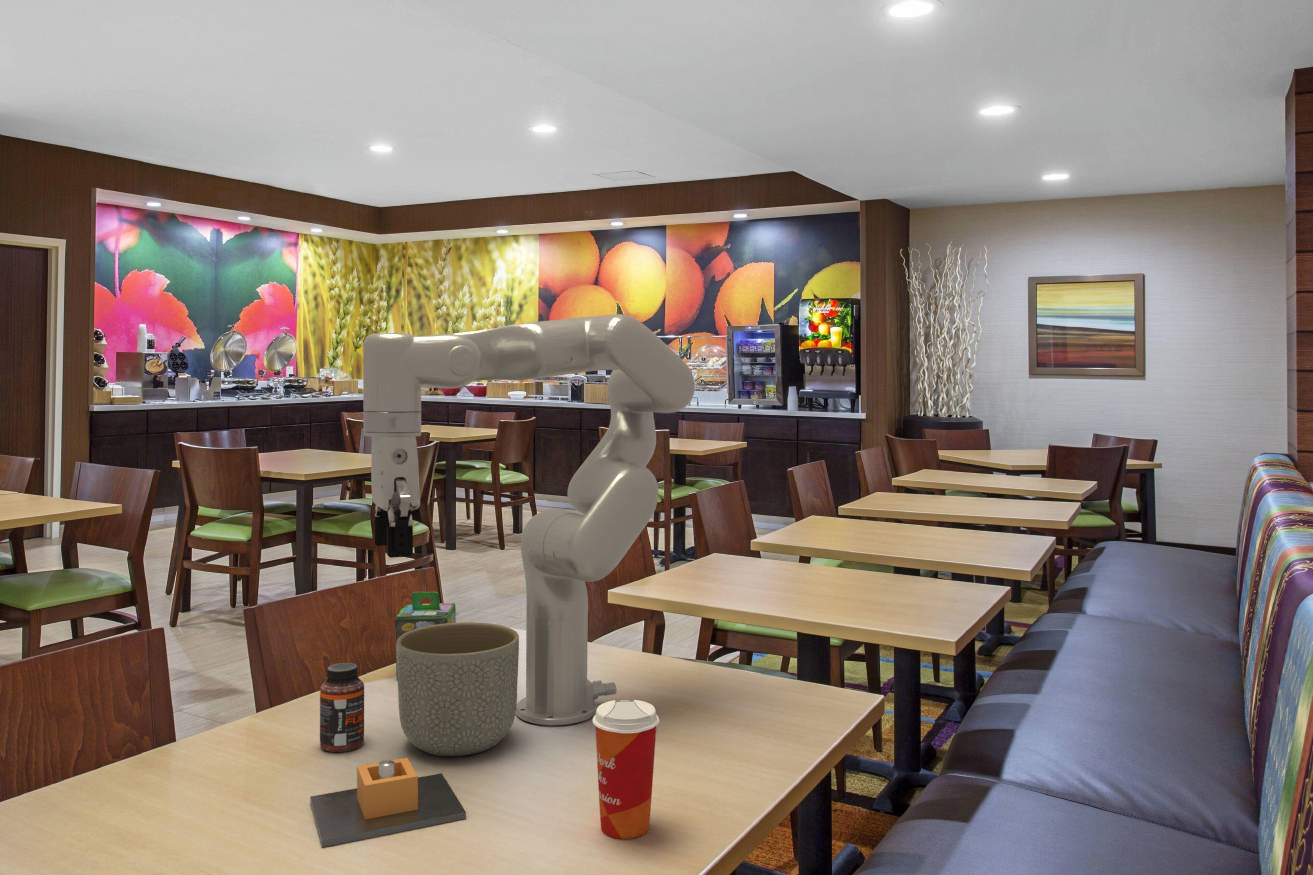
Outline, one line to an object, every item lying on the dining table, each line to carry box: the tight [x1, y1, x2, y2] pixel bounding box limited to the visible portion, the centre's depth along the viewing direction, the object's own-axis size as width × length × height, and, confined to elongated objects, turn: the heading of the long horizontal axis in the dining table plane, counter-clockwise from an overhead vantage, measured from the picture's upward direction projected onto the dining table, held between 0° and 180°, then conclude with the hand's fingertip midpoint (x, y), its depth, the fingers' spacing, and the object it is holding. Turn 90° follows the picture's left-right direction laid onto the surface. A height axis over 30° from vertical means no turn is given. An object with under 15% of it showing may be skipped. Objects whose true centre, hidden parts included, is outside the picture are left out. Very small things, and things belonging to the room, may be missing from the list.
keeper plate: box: [309, 759, 467, 848], centre depth 110 cm, size 16×12×6 cm
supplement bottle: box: [319, 662, 365, 753], centre depth 130 cm, size 6×6×11 cm
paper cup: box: [592, 699, 660, 840], centre depth 106 cm, size 8×8×14 cm
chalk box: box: [394, 591, 457, 682], centre depth 162 cm, size 9×9×15 cm
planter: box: [395, 621, 520, 758], centre depth 131 cm, size 17×17×15 cm
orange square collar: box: [356, 757, 419, 819], centre depth 110 cm, size 6×6×4 cm
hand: (393, 550), depth 126 cm, fingers open, 9 cm apart
